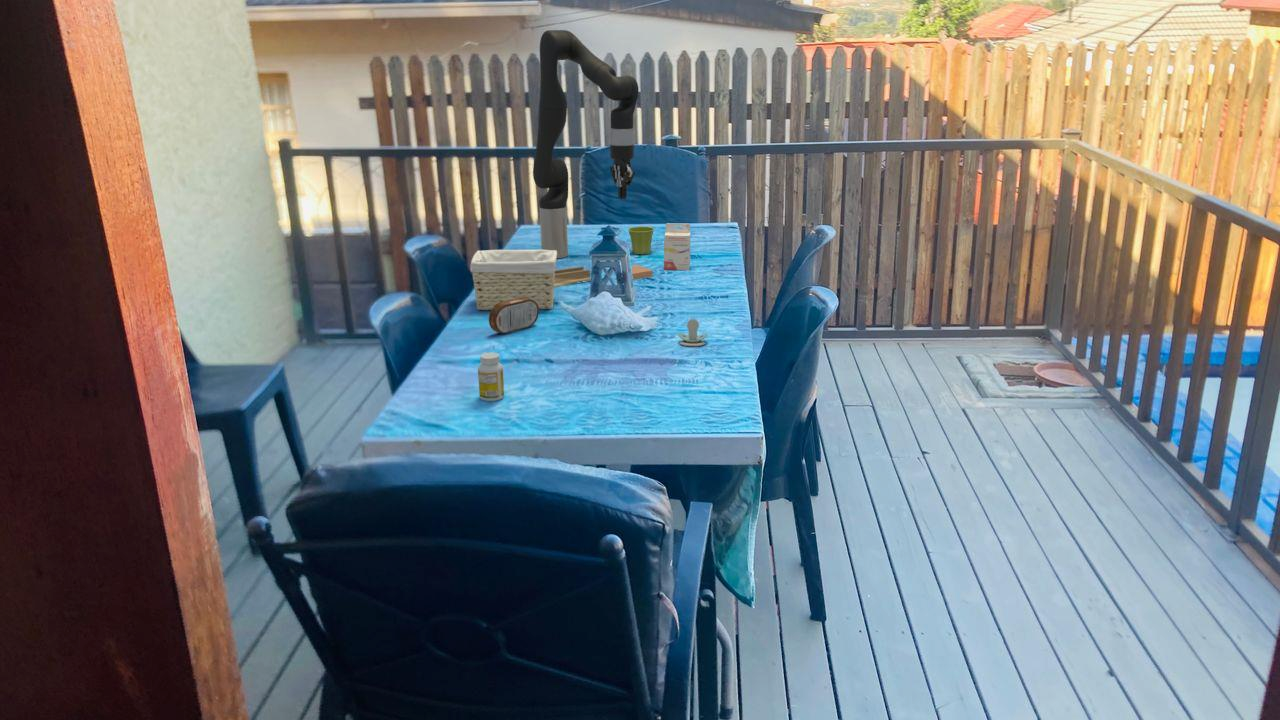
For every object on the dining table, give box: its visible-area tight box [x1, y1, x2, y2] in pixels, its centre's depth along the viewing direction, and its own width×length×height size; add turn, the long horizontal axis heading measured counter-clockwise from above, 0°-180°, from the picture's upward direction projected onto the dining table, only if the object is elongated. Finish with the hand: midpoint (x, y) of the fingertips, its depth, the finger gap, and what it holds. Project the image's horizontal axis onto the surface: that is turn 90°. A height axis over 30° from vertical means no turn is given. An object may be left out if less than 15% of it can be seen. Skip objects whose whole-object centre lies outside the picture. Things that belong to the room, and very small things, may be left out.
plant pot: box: [627, 226, 655, 256], centre depth 338 cm, size 9×9×9 cm
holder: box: [554, 266, 591, 288], centre depth 303 cm, size 12×18×3 cm, turn 119°
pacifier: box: [677, 318, 708, 347], centre depth 242 cm, size 7×6×6 cm
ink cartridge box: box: [663, 222, 692, 271], centre depth 315 cm, size 9×5×15 cm, turn 84°
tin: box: [488, 297, 540, 335], centre depth 254 cm, size 15×3×8 cm, turn 135°
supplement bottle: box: [477, 352, 505, 402], centre depth 208 cm, size 5×5×10 cm
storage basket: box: [469, 249, 558, 311], centre depth 277 cm, size 24×16×15 cm
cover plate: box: [631, 264, 654, 281], centre depth 308 cm, size 2×14×9 cm
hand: (622, 198), depth 306 cm, fingers closed
